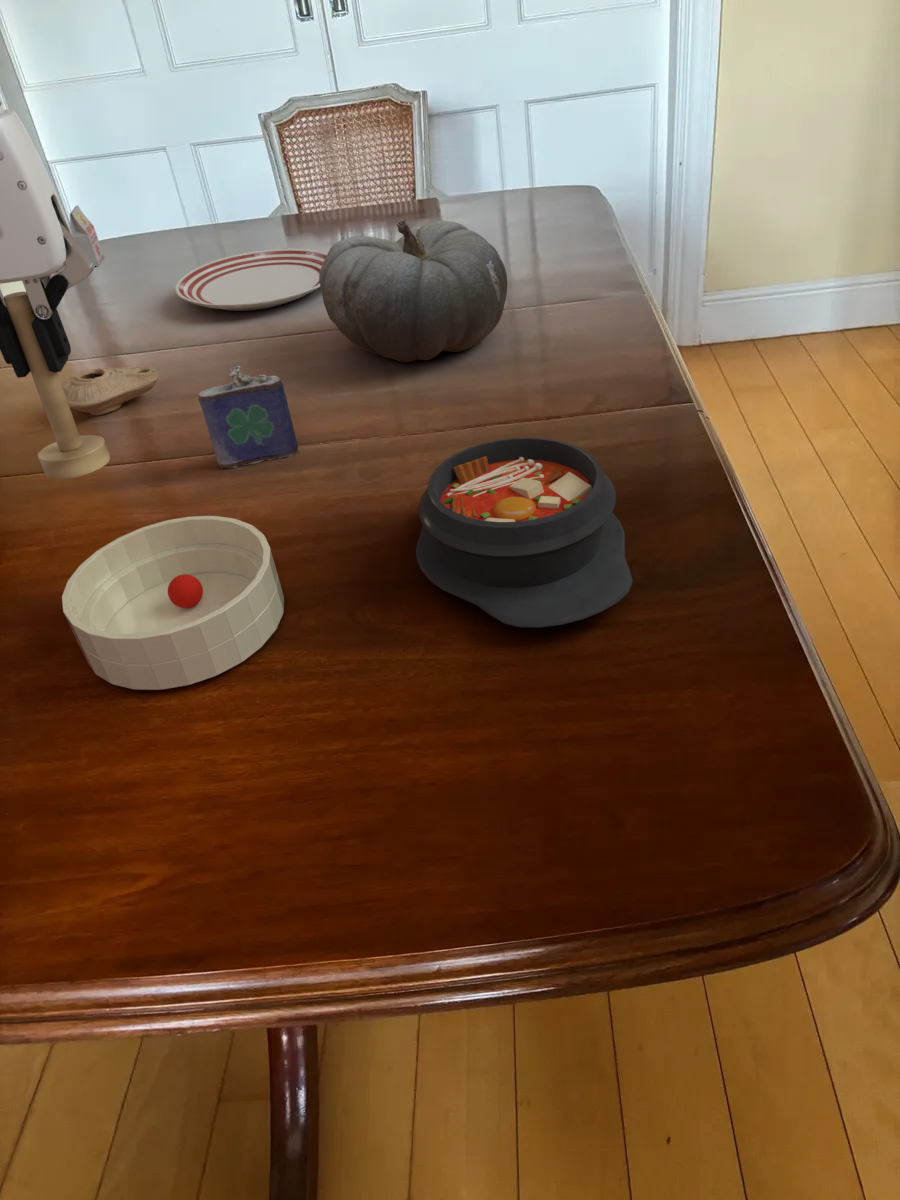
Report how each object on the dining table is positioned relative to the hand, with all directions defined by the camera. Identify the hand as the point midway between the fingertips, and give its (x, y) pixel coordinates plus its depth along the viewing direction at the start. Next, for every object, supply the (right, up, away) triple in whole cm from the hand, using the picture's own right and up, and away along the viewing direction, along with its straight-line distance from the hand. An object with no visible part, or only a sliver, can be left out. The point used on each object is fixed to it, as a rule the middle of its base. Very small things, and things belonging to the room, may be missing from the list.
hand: (43, 366), depth 69 cm
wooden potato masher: (+1, -7, +4) cm, 8 cm away
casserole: (+38, -14, +13) cm, 42 cm away
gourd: (+28, +18, +56) cm, 65 cm away
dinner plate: (0, +34, +82) cm, 88 cm away
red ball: (+8, -17, +10) cm, 22 cm away
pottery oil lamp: (-13, +7, +50) cm, 52 cm away
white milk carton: (-39, +48, +108) cm, 125 cm away
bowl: (+8, -20, +10) cm, 24 cm away
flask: (+9, -2, +34) cm, 35 cm away
